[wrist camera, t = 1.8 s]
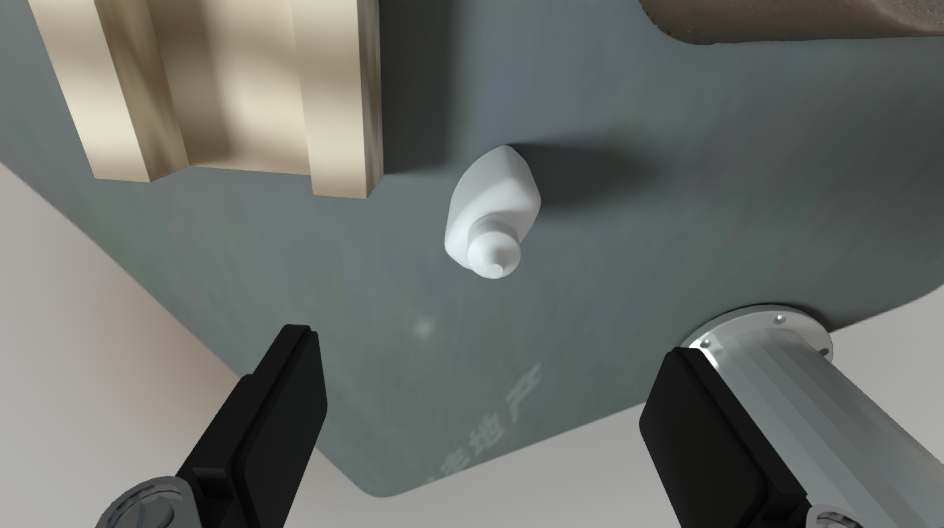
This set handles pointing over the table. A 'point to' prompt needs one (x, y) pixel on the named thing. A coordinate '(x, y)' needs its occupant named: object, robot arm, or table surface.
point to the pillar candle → (794, 19)
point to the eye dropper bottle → (492, 213)
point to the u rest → (223, 86)
